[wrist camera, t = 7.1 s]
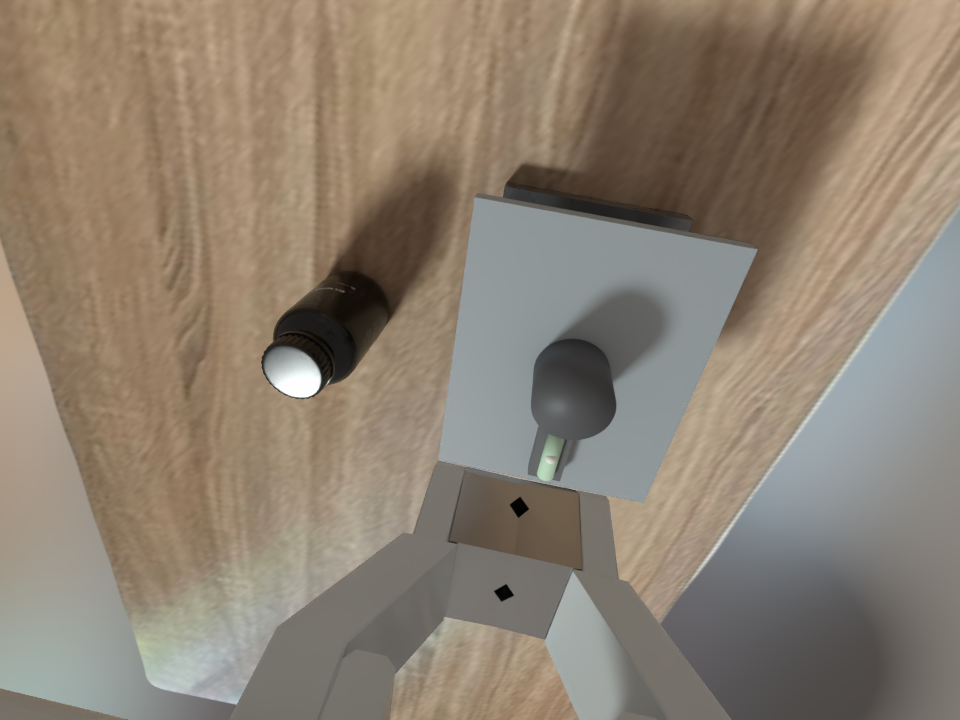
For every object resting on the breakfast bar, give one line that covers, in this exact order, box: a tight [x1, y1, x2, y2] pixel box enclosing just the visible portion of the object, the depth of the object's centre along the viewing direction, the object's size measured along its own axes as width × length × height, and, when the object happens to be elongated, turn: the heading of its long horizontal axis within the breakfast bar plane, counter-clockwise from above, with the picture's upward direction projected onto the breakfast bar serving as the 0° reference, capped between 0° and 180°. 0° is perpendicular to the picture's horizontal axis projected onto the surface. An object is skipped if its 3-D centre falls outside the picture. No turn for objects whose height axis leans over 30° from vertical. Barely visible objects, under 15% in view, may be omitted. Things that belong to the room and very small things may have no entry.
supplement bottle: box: [261, 272, 389, 399], centre depth 40 cm, size 7×7×12 cm
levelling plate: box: [438, 193, 758, 503], centre depth 31 cm, size 20×16×6 cm
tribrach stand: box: [503, 182, 693, 232], centre depth 38 cm, size 18×14×9 cm
